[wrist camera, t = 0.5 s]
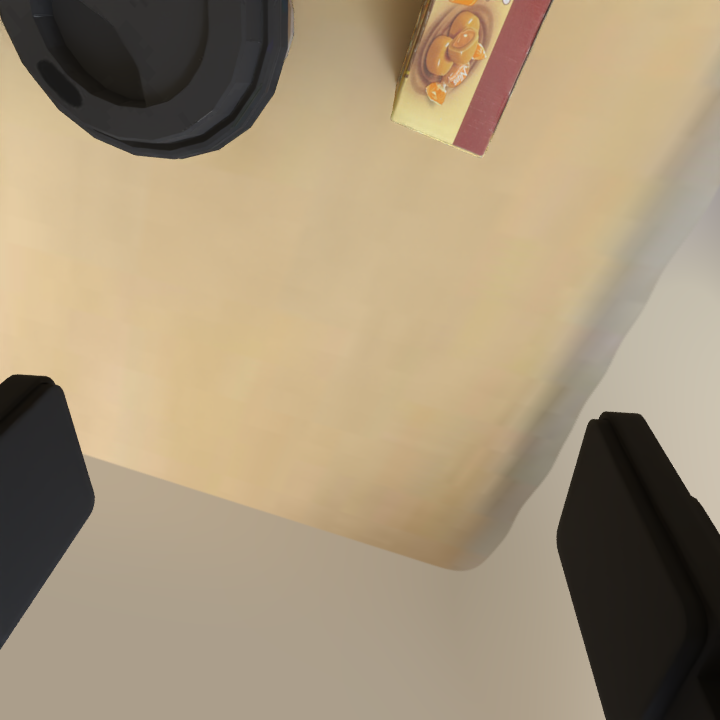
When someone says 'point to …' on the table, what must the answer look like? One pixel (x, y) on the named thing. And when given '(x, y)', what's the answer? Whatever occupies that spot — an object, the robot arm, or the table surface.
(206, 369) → the table surface
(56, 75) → the coffee cup
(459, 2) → the candy box
